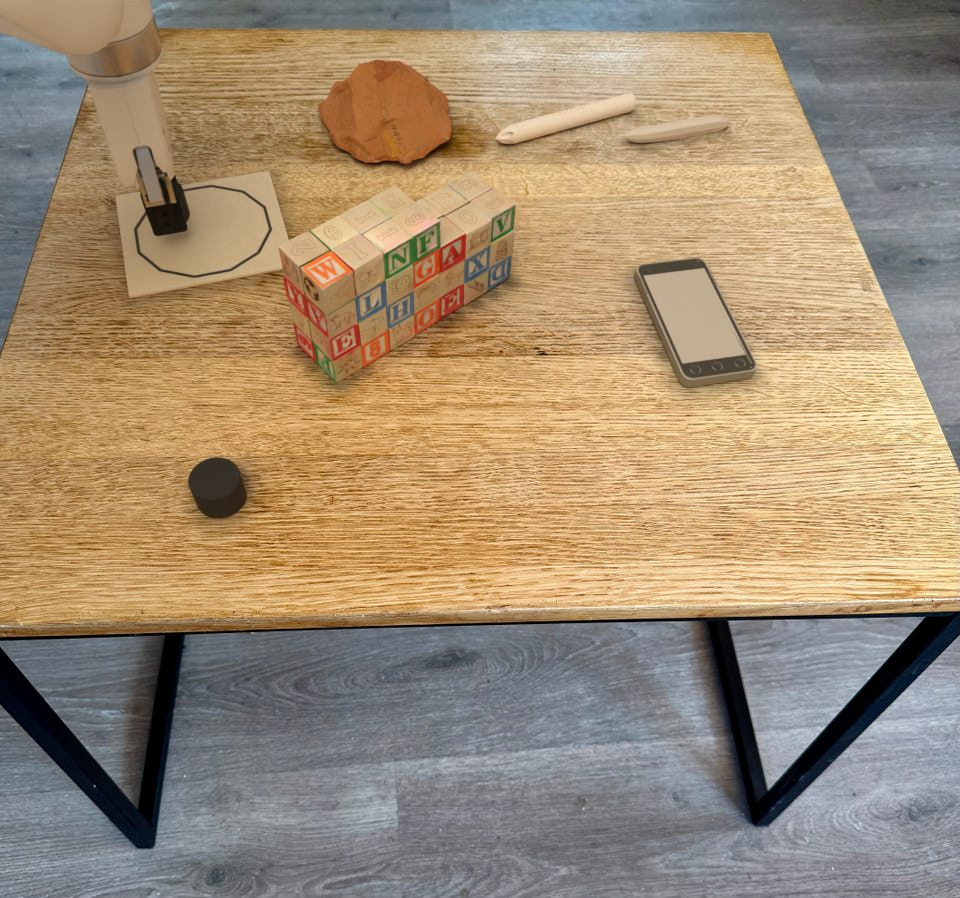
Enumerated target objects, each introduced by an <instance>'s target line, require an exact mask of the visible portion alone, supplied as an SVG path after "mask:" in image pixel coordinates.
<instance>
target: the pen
mask: <svg viewBox="0 0 960 898" xmlns="http://www.w3.org/2000/svg"><path fill="white" fill-rule="evenodd" d="M730 123H731V122H730V120H729V119H728V118H726V116H723V115H721V114H710V115H704V116H703V115H702V116H698V117H692V118H686V119H679V120H674V121H669V122H668V121H667V122H662V123H655V124H651V125H646V126H639V127H636V128H633V129H631V130H629V131H627V132H625V133H624V134H623V135H621V136H620V137H621V138H622V139H624V140H626V141H630V142H632V143H638V144H640V143H641V144H644V143H658V142H660V143H661V142H667V141H668V142H669V141H675V140H676V141H677V140H681V139H685V138H692V137H697V136H703V135H708V134H714V133H719V132H721V131H723V130H725V129H726V128H728V126H729V125H730Z"/></svg>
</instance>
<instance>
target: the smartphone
mask: <svg viewBox="0 0 960 898" xmlns="http://www.w3.org/2000/svg"><path fill="white" fill-rule="evenodd" d="M633 278H634V281H635V284H636V286H637V288H638V290H639V293H640V295H641V297H642V300H643V302H644V304H645V306H646V308H647V311H648V314H649V315H650V316H649V317H650V318H651V321H652V323H653V326H654V328H655V331H656V332H657V334H658V337H659V338H660V341H661V343H662V345H663V348H664V350H665V352H666V355H667V357H668V360H669V362H670V364H671V366H672V368H673V371H674V373H675V375H676V378H677V381H678V382H679V384H680V385H682V386H683V387H685V388H693V387H695V388H696V387H700V386H708V385H715V384H721V383H728V382H729V383H730V382H736V381H741V380H748V379H751V378H753V377H754V374H755V373H756V371H757V369H758V363H757V360H756V358H755V356H754V354H753V352H752V351H751V349H750V346H749V345H748V343H747V341H746V339H745V337H744V334H743V333H742V331H741V329H740V327H739V325H738V323H737V321H736V319H735V317H734V315H733V312H732V310H730V309H731V308H730V307H729V305H728V302H727V301H726V299H725V297H724V295H723V294H722V291H721V289H720V288H719V285H718V283H717V280H716V279H715V277H714V276H713V273H712V272H711V270H710V267H709V265H708V263H707V262H706V261H705V259H702V258H701V257H691V258H690V257H689V258H681V259H673V260H666V261H659V262H651V263H649V262H648V263H642V264H639V265H637V267H636V269H635V273H634V276H633Z"/></svg>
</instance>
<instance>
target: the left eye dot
mask: <svg viewBox="0 0 960 898" xmlns="http://www.w3.org/2000/svg"><path fill="white" fill-rule="evenodd" d="M159 183H160V186H161V188H165V189H166V186H165V183H164V180H160V181H159ZM171 184H172V187H173V190H174V194H175V195H178V197H179V200H180V203H181V207H182V210H183V213H184V217H185V220H186V222H187V221H188V219H189V217H190V211H189V208H188V204H187V201H186V197H185V194H184V191H183V187H182V186H181V185H182V184H181V183H180V182H178V180H177V181H175V180H171ZM140 197H141V200H142V203H143V200H144V199H143V196H142V193H140ZM143 206H144V205H143ZM144 209H145V207H144ZM145 212H146V210H145ZM146 214H147V213H146ZM147 217H148V216H147ZM148 220H149V219H148Z"/></svg>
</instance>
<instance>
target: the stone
mask: <svg viewBox="0 0 960 898" xmlns="http://www.w3.org/2000/svg"><path fill="white" fill-rule="evenodd" d="M317 109H318V113H319V117H320V119H321V120H322V122H323V124H324V126H325V127H326V128H327V130H328V132H329V133H328V137H329V139H330V141H331V142H333V144H334V145H335V146H336V147H337V148H338V149H341V150H342V151H345V152H347V153H349V154H350V155H351V157H352V158H354V159H355V160H358V161H360V162H364V163H366V164H368V163H369V164H370V163H371V164H373V163H375V164H377V163H378V164H379V163H381V162H383V161H385V162H386V161H389V162H390V161H391V162H399V163H400V164H403V165H408V164H411V163H412V162H413V161H416V160H418V159H423V158H425V157H426V156H427V155H428V154H429V153H430V152H433V151H434V150H435V149H437V148H438V147H439V146H440V145H442V144H444V143H446V142H448V141H449V140H450V139H451V137H452V132H453V128H452V124H453V121H452V118H451V117H450V116H449V114H450V110H451V107H450V104H449V98H448V97H447V95H446V94H445V93H444V92H443V91H442V90H441V89H440V88H438V87H437V86H435V85H434V84H433V83H431V82H430V81H429V80H428V78H427V77H426V76H425V75H423V74H422V73H420V72H419V71H417V69H415V68H414V67H412V66H411V65H408V64H405V63H404V62H403V61H400V60H385V59H373V60H371V61H368V62H364V63H358V64H357V66H356V67H355V68H354V70H352V72H351V73H350V75H348V76H347V77H346V78H345V79H344V80H341V81H340V80H339V81H335V82H333V84H332V86H331V88H330V91H329V94H328V96H327V97H326V98H325V100H324V101H322V102H320V103H318V104H317Z"/></svg>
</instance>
